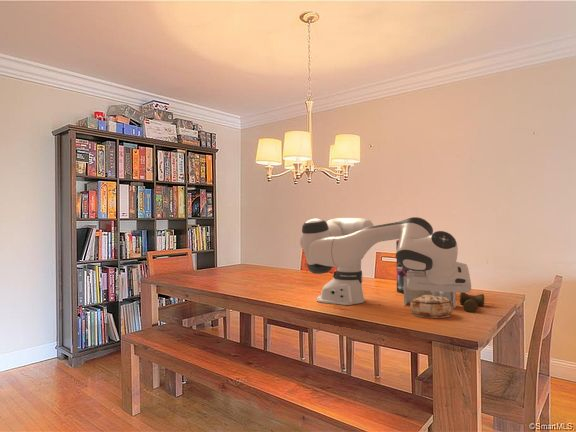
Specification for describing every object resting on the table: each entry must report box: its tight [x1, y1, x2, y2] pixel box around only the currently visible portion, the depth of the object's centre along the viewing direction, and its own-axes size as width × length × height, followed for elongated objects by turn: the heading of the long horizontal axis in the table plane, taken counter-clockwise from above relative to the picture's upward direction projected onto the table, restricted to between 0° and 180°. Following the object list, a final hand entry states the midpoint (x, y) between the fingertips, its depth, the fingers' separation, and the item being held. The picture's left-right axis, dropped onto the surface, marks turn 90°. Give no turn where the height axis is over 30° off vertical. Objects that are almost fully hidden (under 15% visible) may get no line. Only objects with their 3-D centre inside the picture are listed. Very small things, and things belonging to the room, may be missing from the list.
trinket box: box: [409, 295, 454, 319], centre depth 149 cm, size 13×15×8 cm
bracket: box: [403, 276, 457, 309], centre depth 164 cm, size 21×6×12 cm, turn 73°
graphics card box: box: [395, 239, 411, 294], centre depth 186 cm, size 17×7×27 cm, turn 27°
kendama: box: [459, 292, 485, 313], centre depth 160 cm, size 6×10×20 cm
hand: (436, 294), depth 131 cm, fingers closed
